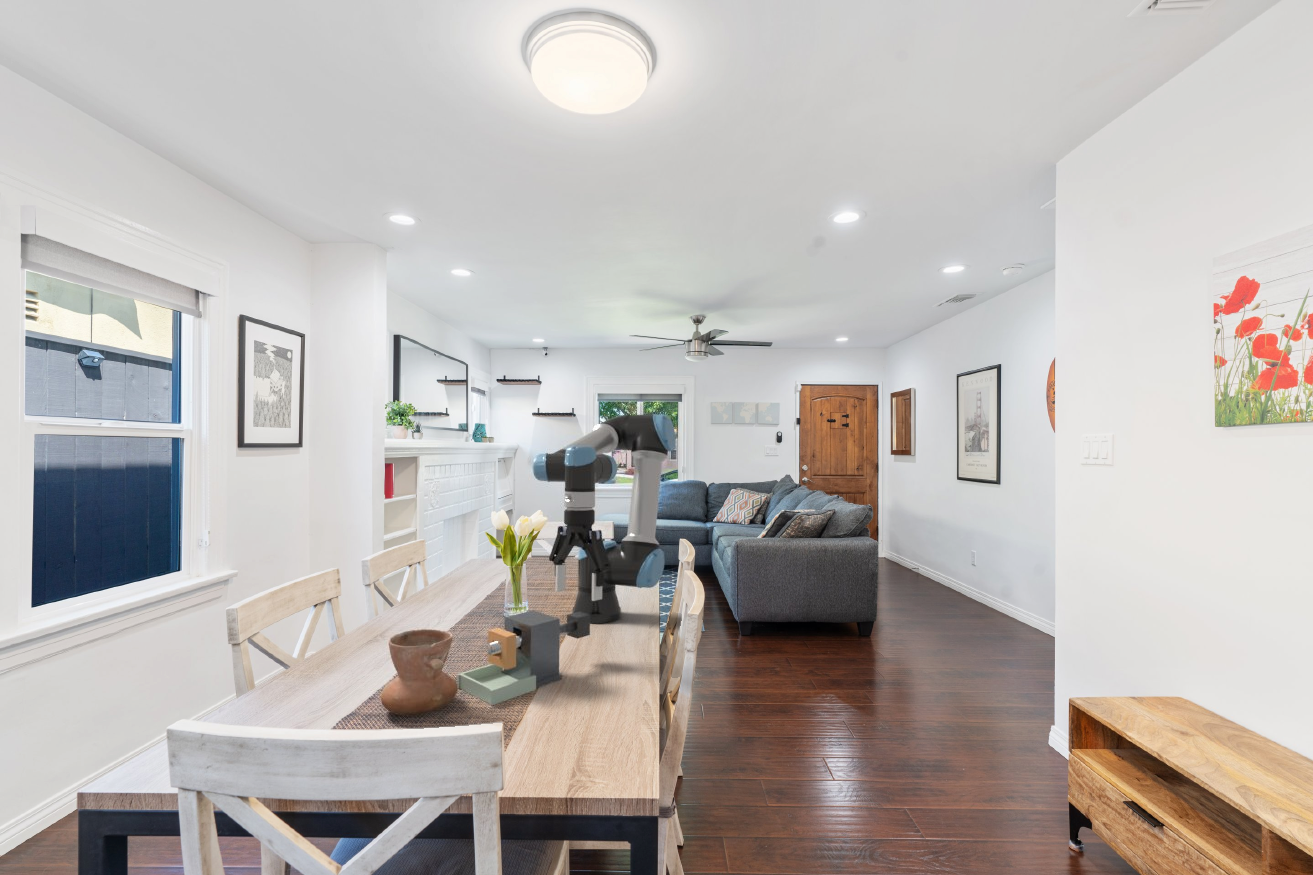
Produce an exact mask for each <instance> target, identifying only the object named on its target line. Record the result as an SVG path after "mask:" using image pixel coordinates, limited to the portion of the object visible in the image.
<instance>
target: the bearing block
mask: <svg viewBox="0 0 1313 875" xmlns="http://www.w3.org/2000/svg"><path fill="white" fill-rule="evenodd" d="M560 619H561V618H558V617H555V616H552V615H549V614H545V613H542V612H539V611H536V610H530V611H526V612H521V613H518V614H517V613H516V614H513V615H509V616H505V617H504V629H503V630H506V631H508V632H511V633H514V634H516V636H519V635H522V645H521V647H517V648H516V667H514V668H510V669H507V670H506V669H503V671H501V673H503V674H506V675H508V676H510V677H513V678H515V679H517V680H521V679H524V678H527V677H530V676H533V675H535V676H536V689H538V688H540V687H541V688H542V687H543V686H544V687H545V686H546V685H549V684H550V685H551V684H552V683H555V682H558V681H561V680H562V679H563V674H561V673H560V637H561V635H560V623H561V620H560Z"/></svg>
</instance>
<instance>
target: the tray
mask: <svg viewBox="0 0 1313 875" xmlns="http://www.w3.org/2000/svg"><path fill="white" fill-rule="evenodd" d="M503 670H504V669H503V668H501V667H499V666H496V665H494V664H492V663H490V664H487V665H484V666H480V667H477V668H474V669H469V670H468V671H464V672H460V673H457V674H456V680H457V681H456V683H457V686H458V690H459V689H460V690H462V691H463V692H466V693H468V694H470V695H472V696H473V697H475V698H478V699H479V700H481V701H484V702H485V703H488V704H489V706H494V705H496V704H499V703H503V702H505V701H509V700H510V699H513V698H517V697H519V696H523V695H525V694H527V693H530V692H533V691H536V689H537V688H536V676H535V675H533V676H530V677H527V678H524V679H521V680H517V679H515V678H513V677H510V676H508V675H506V674H503V673H501V671H503Z"/></svg>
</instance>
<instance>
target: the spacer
mask: <svg viewBox="0 0 1313 875" xmlns="http://www.w3.org/2000/svg"><path fill="white" fill-rule="evenodd" d="M487 631H488V632H487V633H488V634H487V635H488V636H487V645H488V644H489V643H493V642H499V643H502V652H500V653H496V654H493V655H490V654H489V653H488V652H487V662H488V663H490V664H494V665H496V666H499V667H501V668H503V670H504V669H506V670H507V669H510V668H514V667H516V634H514V633H511V632H508V631H506V630H504V629H503V628H500V627H495V628H492V629H488V630H487Z"/></svg>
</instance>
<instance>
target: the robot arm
mask: <svg viewBox="0 0 1313 875" xmlns="http://www.w3.org/2000/svg"><path fill="white" fill-rule="evenodd" d="M675 447H676V431H675V426H674V424H673V421H672V419H671V418H670V417H669V416H668V415H667V414H656V413H654V414H651V413H650V414H622V415H617V416H615V417H612V418H609V419H607V420H605V421H603V422H601V423H598V424H596V425H595V426H594V427H593V428H592V430H591V432H589V433H588V434H585V435H584V436H582V437H579V439H577V440H575V441H573V442H570V443H569V444H567V445H566V446H564V447H562V448H560V449H558V450H557V451H555V452H552V453H548V452H545V453H539V454H537V455H536V456H534V459H533V462H532V474H533V476H534V478H535V479H536V480H537V481H540V482H547V483H551V482H552V483H553V482H554V483H555V482H556V483H564V508H566V509H565V510H564V511H563V513H564V514H563V522H564V525H559V526H558V527H557V533H556V534H557V535H556V537H555V540H554V543H553V545H552V548H551V550H550V551H551V552H550V554H549V557H548V560H549V562H552V563H553V565H554V577H555V581H554V582H555V584H554V585H555V586H554V587H555V588H554V590H555V592H557V593H558V592H562V591H566V590H567V589H566V588H567V587H566V585H567V584H566V583H567V582H566V580H567V579H566V578H567V577H566V576H567V564H566V563H567V562H566V559H567V558H568V556H569V554H570V553H571V551H572V550H573V549H574V547H577V548H578V554H577V555H578V556H577V557H578V558H577V562H578V563H577V566H578V567H577V569H578V570H577V595H576V598H575V601H574V606H573V607H572V609H571V614H572V613H576V612H583V613H586V614H590V624H605V623H610V622H614V621H617V620H619V619H620V618H621V617H622V609H621V608H622V607H621V606H620V603H619V598H618V596H617V593H616V586H620V587H621V586H623V587H632V588H639V589H641V588H646V589H648V588H649V589H651V588H654V587H655V586H656V585H657V584H658V583H659V582H660V580H661V578H662V576H663V572H664V568H665V561H666V559H665V553H664V551H663V550H662V549H661V548H660V543H659V541H658V540H657V538H656V532H657V531H656V530H657V520H658V511H659V510H658V508H659V498H660V491H661V490H660V487H661V478H662V467H663V466H662V465H663V462H664V461H666V460H667V459H668V456H669V455H668V454H669V453H670V452H672V451H674V450H675ZM613 451H631V452H630V454H631V456H632V457H633V458H634V469H633V478H632V488H631V489H632V490H631V497H630V506H629V513H628V514H629V516H628V524H627V534H626V536H625V537H623V539H621V545H620V546H617V542H616V541H615V540H603V531H602V530H601V529H597V530H593V527H592V526H593V525H595V520H596V518H595V516H596V515H595V514H596V511H595V509H593V508H595V506H596V484H605V483H607V482H610V481H612V480H613V479H614V478H615V477H616V476H617V473H618V465H617V464H618V463H617V461H616V460H615V458H614V457H613V456H611V455H609V453H612V452H613ZM668 452H669V453H668Z"/></svg>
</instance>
